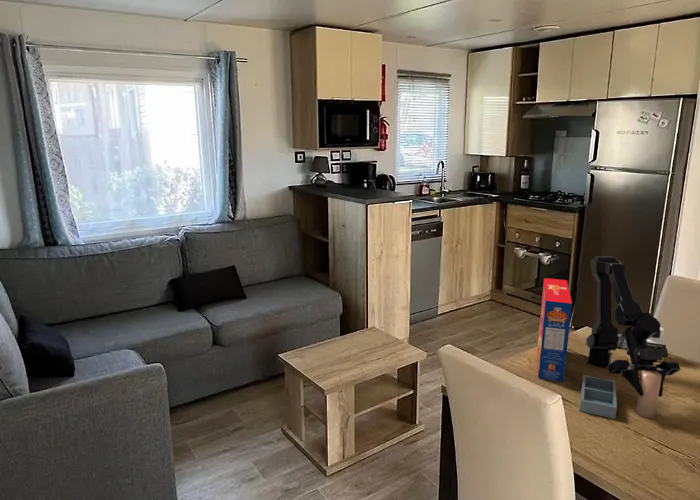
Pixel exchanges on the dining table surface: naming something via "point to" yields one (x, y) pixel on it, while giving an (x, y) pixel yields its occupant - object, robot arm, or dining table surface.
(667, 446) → the dining table surface
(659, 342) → the medicine bottle
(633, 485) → the dining table surface
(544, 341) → the cereal box
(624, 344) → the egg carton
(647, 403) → the peach round cylinder
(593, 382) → the divided tray
